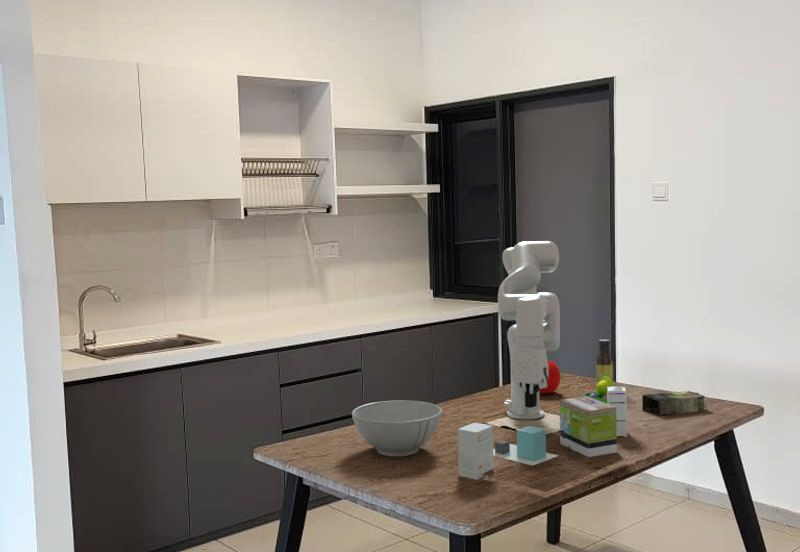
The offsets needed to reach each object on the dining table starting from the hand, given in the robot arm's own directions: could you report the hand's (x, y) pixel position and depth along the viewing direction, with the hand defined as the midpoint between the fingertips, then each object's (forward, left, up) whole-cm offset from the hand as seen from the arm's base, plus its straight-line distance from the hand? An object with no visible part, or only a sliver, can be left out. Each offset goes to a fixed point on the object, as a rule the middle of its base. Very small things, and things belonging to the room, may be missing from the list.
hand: (530, 406), depth 235 cm
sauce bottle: (-32, +86, -16) cm, 93 cm away
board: (-4, 0, -16) cm, 16 cm away
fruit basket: (-18, +63, -16) cm, 68 cm away
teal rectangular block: (0, 0, -15) cm, 15 cm away
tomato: (-48, +70, -16) cm, 87 cm away
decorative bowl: (-36, -18, -16) cm, 43 cm away
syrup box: (+3, +39, -16) cm, 42 cm away
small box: (-4, -19, -16) cm, 25 cm away
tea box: (+7, +18, -16) cm, 25 cm away
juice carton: (+1, +77, -16) cm, 79 cm away
